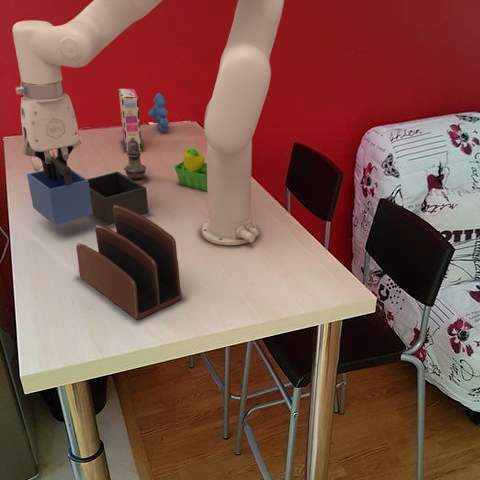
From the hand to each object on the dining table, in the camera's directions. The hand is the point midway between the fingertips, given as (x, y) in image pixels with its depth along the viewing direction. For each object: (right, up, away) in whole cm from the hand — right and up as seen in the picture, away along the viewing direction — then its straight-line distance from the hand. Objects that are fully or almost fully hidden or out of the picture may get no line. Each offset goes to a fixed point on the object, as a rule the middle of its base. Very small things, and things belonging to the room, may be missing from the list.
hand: (57, 177), depth 122 cm
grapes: (+7, +28, +72) cm, 77 cm away
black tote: (+8, -6, +17) cm, 19 cm away
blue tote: (0, -7, +4) cm, 8 cm away
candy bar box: (+2, +19, +58) cm, 61 cm away
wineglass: (-11, -1, +24) cm, 26 cm away
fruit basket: (+25, +3, +33) cm, 42 cm away
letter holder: (+18, -24, -12) cm, 32 cm away
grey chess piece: (+9, +5, +34) cm, 35 cm away
